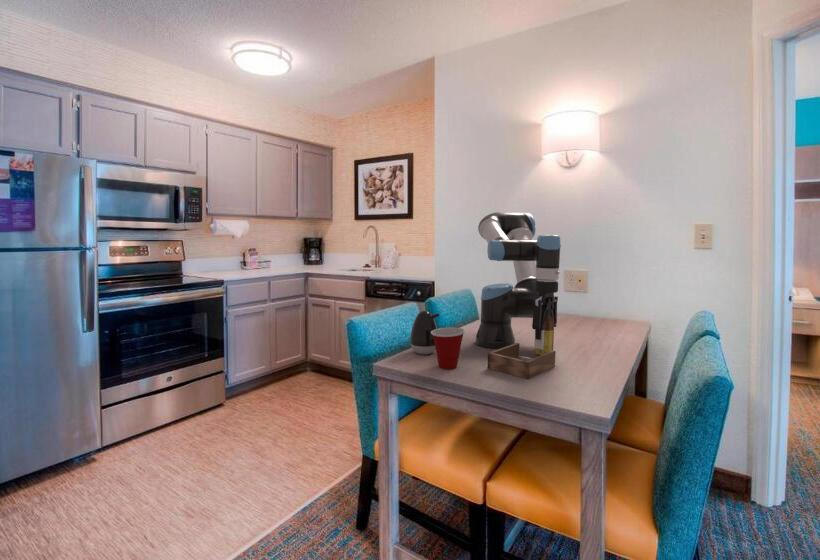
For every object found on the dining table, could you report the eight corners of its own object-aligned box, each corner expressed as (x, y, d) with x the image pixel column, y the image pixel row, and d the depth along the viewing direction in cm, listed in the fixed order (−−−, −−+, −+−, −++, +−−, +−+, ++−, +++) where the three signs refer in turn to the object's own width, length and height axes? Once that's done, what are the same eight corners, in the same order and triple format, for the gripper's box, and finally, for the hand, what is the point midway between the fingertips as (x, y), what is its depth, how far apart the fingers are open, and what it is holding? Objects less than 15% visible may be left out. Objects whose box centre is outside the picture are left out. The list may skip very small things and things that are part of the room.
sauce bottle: (539, 354, 150) (542, 299, 148) (556, 357, 145) (559, 301, 143) (530, 357, 145) (532, 300, 143) (547, 361, 141) (549, 303, 139)
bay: (487, 368, 133) (487, 352, 132) (516, 356, 146) (516, 342, 145) (527, 379, 123) (528, 362, 123) (554, 365, 136) (555, 350, 136)
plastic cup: (428, 361, 139) (429, 326, 138) (460, 361, 140) (461, 326, 138) (431, 372, 128) (432, 334, 127) (466, 372, 129) (467, 334, 128)
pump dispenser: (439, 356, 145) (440, 313, 143) (409, 356, 145) (409, 313, 144) (438, 349, 155) (439, 308, 153) (410, 348, 155) (410, 308, 154)
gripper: (544, 283, 133) (540, 354, 135) (569, 279, 147) (566, 343, 149) (522, 281, 138) (520, 349, 141) (549, 277, 152) (546, 339, 154)
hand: (543, 346), depth 145 cm, fingers closed on sauce bottle, 6 cm apart
